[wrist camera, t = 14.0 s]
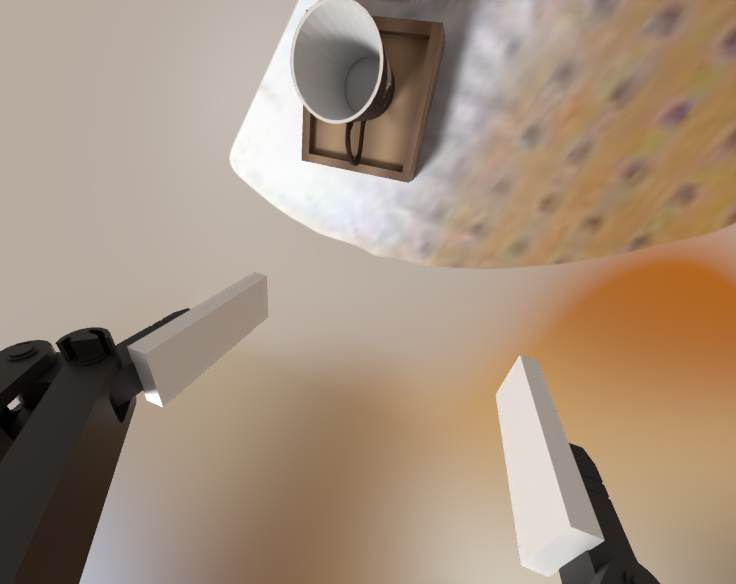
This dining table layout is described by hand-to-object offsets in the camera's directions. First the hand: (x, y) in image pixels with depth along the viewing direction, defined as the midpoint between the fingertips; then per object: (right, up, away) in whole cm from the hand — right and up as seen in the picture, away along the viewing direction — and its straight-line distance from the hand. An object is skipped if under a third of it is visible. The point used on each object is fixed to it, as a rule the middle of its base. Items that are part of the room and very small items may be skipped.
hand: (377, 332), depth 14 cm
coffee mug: (-1, +25, +19) cm, 31 cm away
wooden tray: (0, +27, +22) cm, 35 cm away
